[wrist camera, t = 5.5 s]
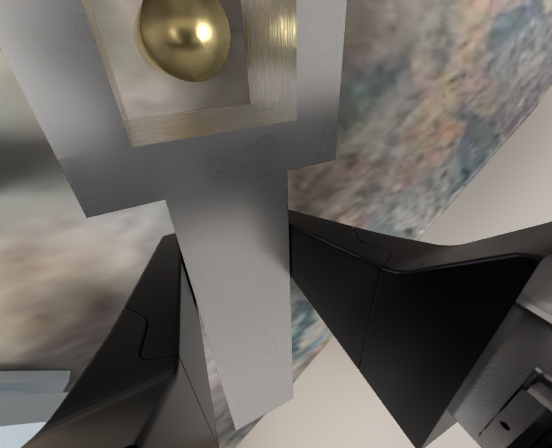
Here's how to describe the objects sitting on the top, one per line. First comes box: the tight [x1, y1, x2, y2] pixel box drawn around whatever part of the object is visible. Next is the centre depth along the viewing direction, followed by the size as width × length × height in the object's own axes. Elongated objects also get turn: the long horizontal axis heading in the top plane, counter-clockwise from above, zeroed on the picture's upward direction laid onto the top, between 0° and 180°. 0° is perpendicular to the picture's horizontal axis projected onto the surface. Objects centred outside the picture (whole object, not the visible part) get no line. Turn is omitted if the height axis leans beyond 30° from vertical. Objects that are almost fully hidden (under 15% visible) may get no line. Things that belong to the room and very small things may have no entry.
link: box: [0, 0, 347, 430], centre depth 9 cm, size 18×6×3 cm, turn 2°
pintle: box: [134, 0, 231, 82], centre depth 8 cm, size 2×2×4 cm
